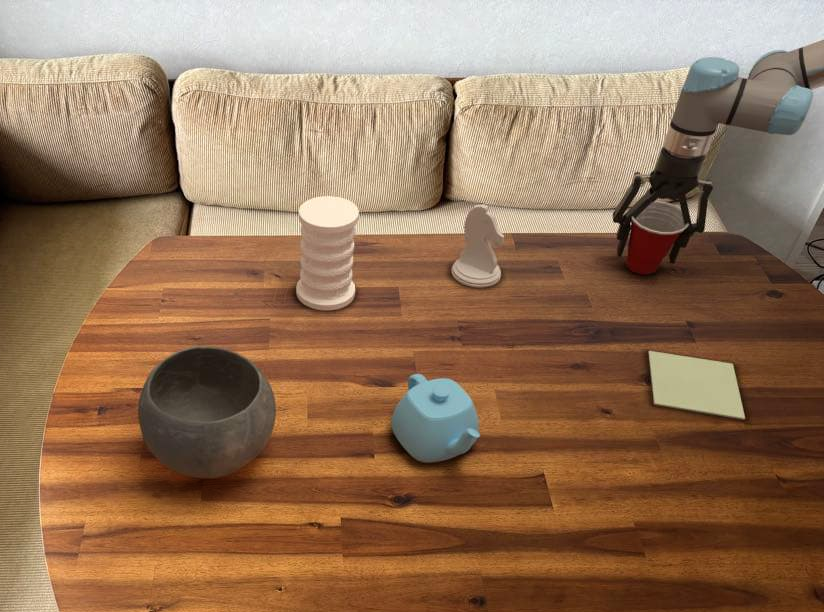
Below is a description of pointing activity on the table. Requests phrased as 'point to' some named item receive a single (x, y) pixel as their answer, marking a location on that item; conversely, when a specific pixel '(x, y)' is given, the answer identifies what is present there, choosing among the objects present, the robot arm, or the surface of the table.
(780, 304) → the table surface
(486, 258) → the chess piece
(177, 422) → the bowl
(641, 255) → the plastic cup
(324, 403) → the table surface
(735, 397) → the mat
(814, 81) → the robot arm
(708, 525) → the table surface
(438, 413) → the teapot
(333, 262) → the decorative container
